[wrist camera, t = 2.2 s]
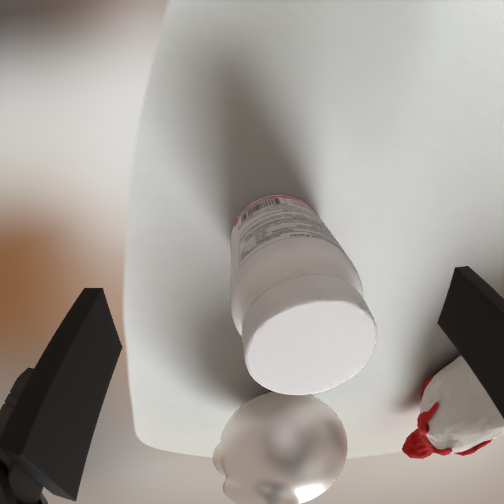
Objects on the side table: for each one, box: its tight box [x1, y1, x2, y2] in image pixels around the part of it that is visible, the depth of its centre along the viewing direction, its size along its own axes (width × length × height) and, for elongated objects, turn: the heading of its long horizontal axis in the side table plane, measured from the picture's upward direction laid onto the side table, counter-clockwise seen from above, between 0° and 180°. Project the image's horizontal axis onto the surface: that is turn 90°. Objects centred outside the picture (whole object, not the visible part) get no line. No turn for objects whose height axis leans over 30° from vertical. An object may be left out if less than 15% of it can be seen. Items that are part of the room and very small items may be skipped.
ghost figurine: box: [213, 392, 347, 504], centre depth 18 cm, size 9×10×10 cm
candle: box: [402, 355, 504, 459], centre depth 20 cm, size 9×11×15 cm
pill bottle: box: [230, 195, 377, 395], centre depth 12 cm, size 5×5×8 cm
